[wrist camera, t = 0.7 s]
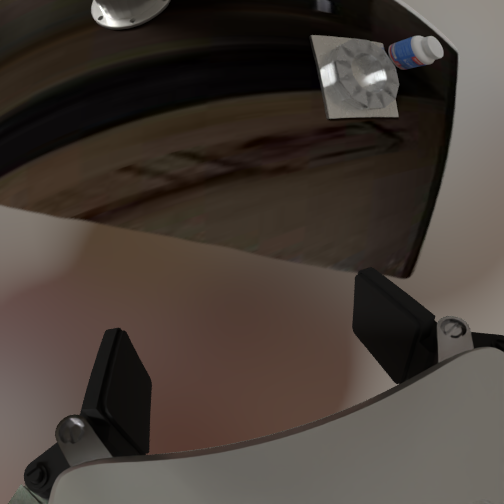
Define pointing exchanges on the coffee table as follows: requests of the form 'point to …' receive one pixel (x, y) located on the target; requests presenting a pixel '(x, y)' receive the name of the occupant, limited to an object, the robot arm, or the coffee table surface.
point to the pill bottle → (415, 52)
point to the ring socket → (355, 77)
